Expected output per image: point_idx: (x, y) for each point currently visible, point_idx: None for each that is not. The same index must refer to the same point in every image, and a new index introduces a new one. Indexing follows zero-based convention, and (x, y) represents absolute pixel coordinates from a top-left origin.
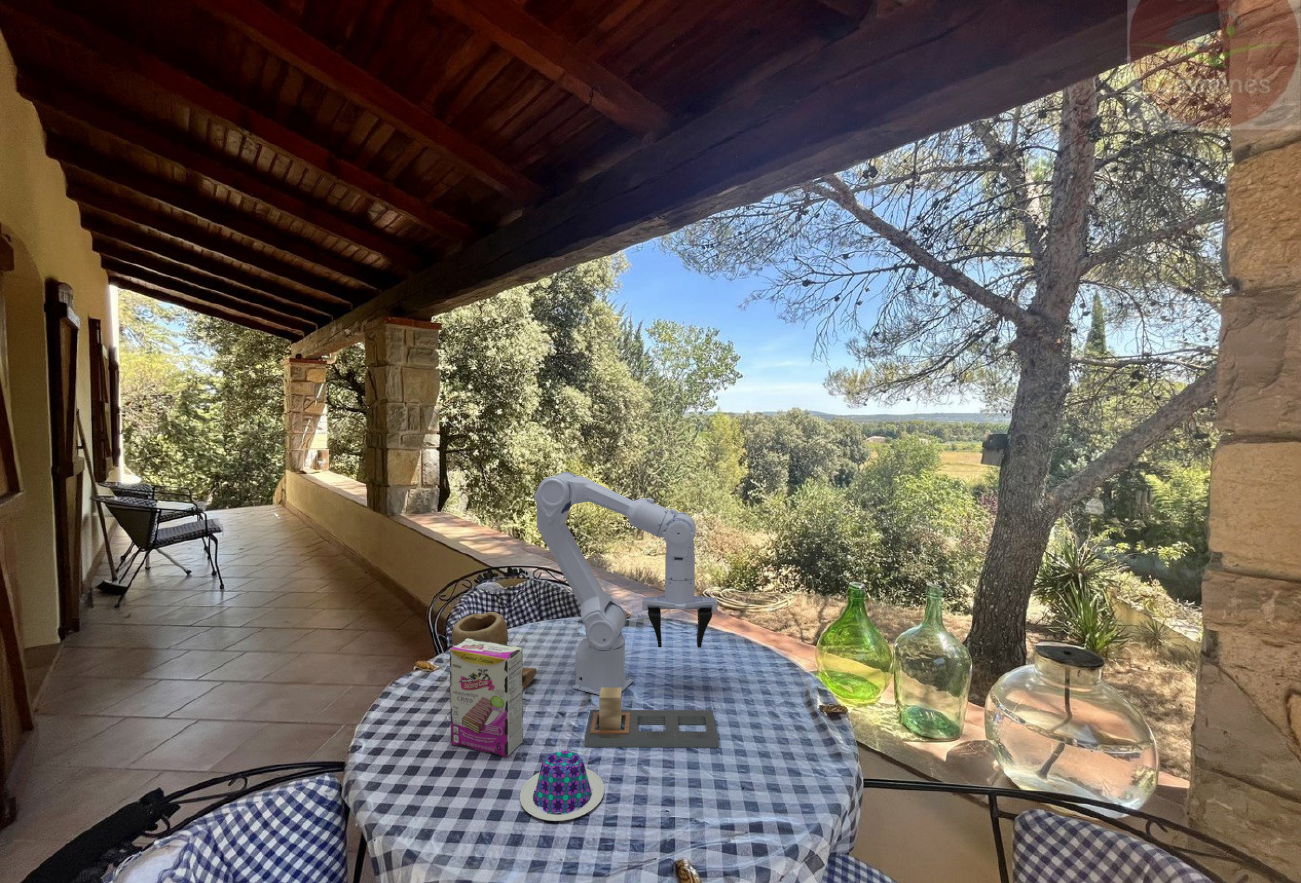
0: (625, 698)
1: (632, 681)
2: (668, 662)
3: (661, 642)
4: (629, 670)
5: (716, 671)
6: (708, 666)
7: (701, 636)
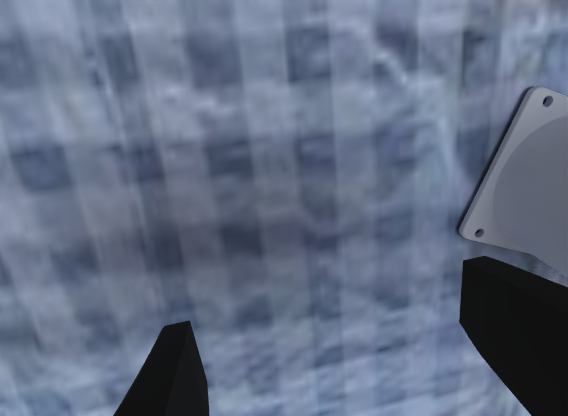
0: (485, 103)
1: (460, 228)
2: (333, 391)
3: (492, 273)
4: None
5: None
6: None
7: (141, 392)
